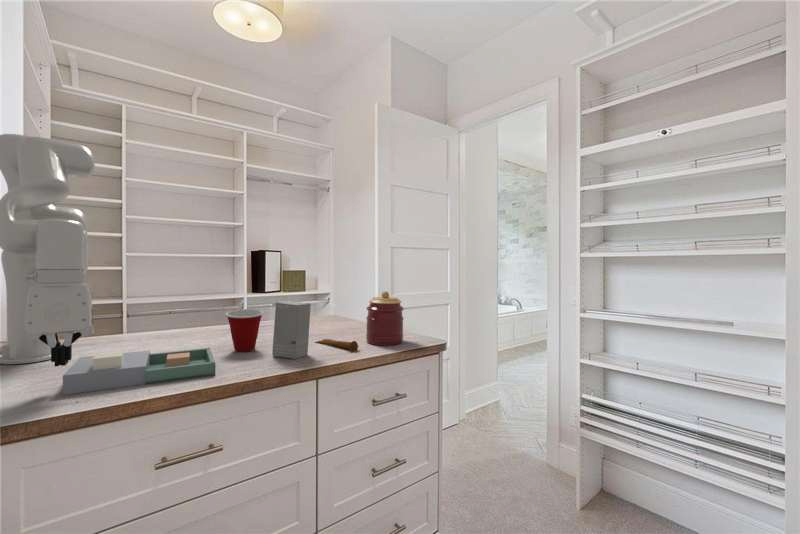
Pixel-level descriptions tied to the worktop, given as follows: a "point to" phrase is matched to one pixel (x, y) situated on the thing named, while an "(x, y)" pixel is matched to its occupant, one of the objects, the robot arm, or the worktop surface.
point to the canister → (384, 320)
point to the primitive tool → (340, 344)
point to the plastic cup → (244, 328)
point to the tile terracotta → (178, 359)
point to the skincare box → (291, 329)
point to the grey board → (106, 374)
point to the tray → (198, 367)
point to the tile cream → (108, 360)
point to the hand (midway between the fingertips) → (61, 364)
